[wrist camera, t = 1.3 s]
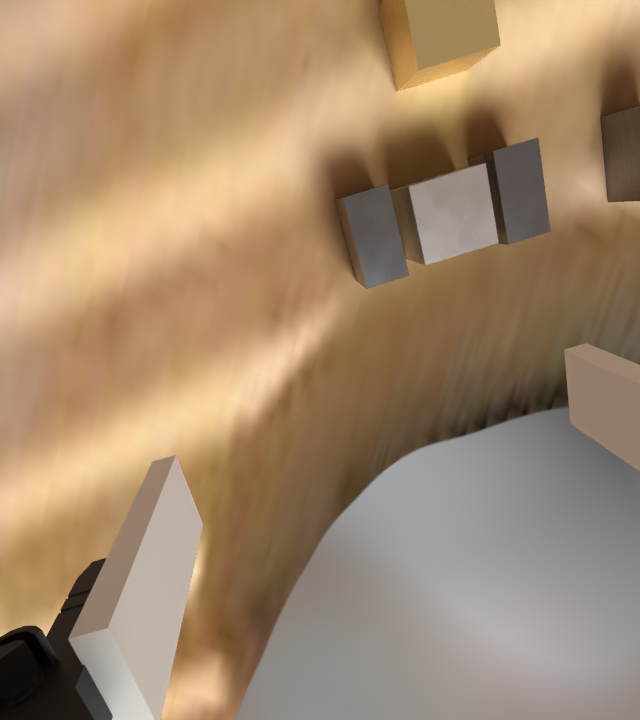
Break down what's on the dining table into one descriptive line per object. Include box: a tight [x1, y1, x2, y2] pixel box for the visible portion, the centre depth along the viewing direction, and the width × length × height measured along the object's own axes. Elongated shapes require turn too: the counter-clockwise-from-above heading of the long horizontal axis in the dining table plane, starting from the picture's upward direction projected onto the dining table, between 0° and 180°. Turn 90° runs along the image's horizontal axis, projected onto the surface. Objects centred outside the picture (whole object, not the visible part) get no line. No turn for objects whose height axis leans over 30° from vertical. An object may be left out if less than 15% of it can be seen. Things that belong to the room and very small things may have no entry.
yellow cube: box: [379, 0, 500, 92], centre depth 29 cm, size 5×5×5 cm
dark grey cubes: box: [335, 105, 640, 289], centre depth 33 cm, size 6×23×4 cm, turn 106°
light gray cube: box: [390, 163, 499, 265], centre depth 32 cm, size 5×5×5 cm
